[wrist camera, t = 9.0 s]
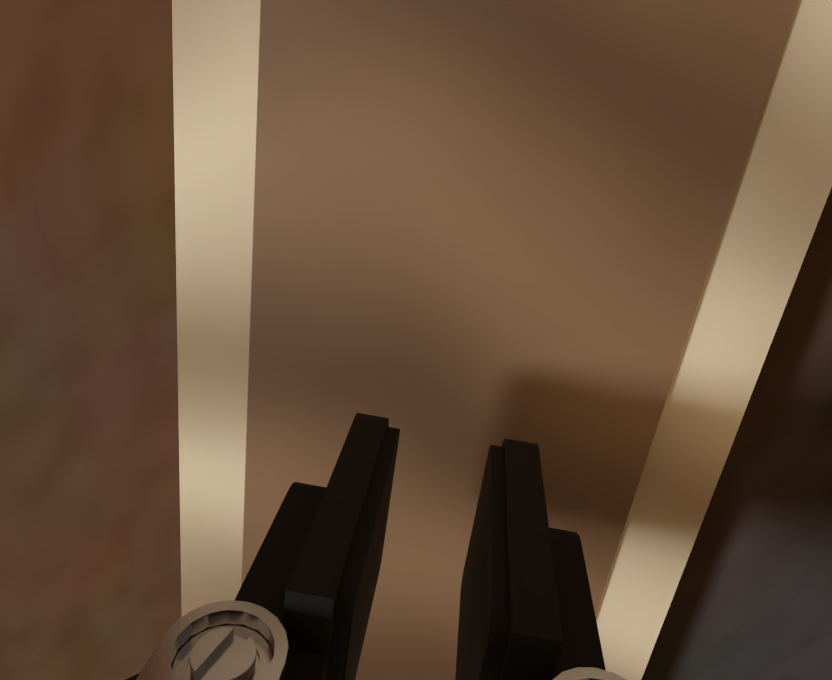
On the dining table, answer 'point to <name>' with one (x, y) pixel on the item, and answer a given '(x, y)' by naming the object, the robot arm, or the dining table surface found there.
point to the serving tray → (485, 274)
